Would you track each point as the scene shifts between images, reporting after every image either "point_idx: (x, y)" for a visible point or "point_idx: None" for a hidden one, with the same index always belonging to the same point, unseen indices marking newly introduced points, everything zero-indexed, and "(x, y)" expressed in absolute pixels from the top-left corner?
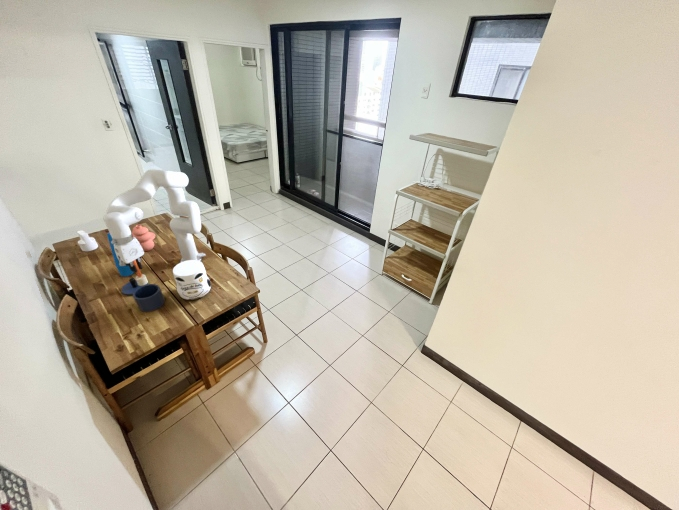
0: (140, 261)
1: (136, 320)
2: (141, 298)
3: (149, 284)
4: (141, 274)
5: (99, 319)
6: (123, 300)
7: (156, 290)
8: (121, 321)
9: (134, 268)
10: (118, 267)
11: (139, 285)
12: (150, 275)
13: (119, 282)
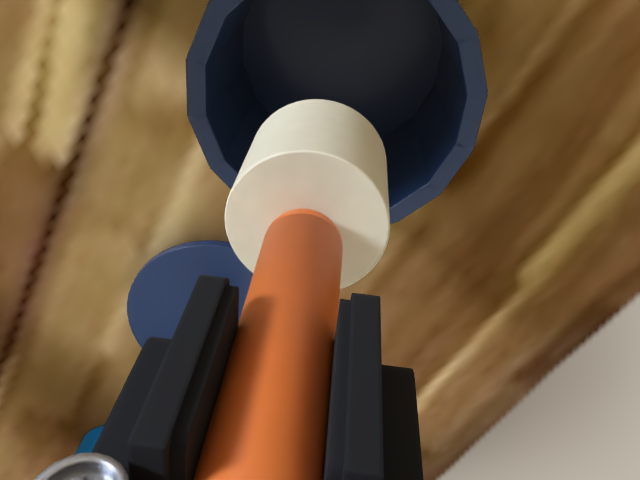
0: (77, 463)
1: (577, 21)
2: (468, 63)
3: (217, 166)
4: (285, 226)
5: (584, 301)
6: None
7: (225, 75)
8: (597, 140)
9: (379, 400)
10: None
11: None
12: (63, 318)
13: None
